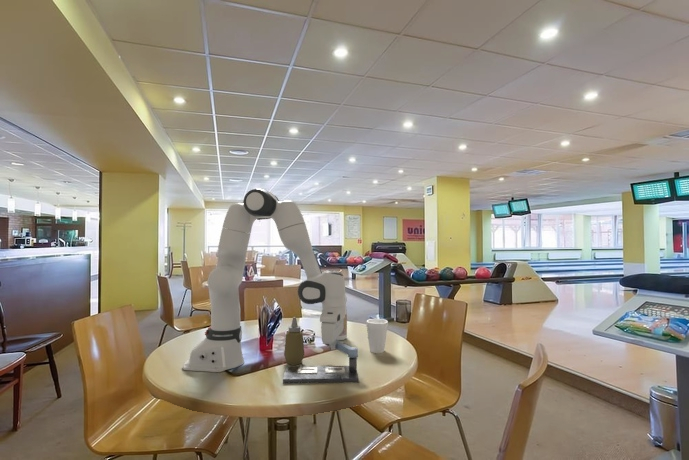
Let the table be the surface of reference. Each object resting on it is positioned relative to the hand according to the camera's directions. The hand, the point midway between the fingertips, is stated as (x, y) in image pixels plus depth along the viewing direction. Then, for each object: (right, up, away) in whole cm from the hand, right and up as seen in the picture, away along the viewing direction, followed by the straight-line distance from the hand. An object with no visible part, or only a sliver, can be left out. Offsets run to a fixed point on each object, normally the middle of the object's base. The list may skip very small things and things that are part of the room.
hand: (333, 349), depth 139 cm
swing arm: (+2, -1, +1) cm, 3 cm away
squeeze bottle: (-16, -7, +5) cm, 18 cm away
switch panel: (-4, -7, -8) cm, 12 cm away
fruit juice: (+1, -8, +40) cm, 41 cm away
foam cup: (+19, -8, +21) cm, 29 cm away
